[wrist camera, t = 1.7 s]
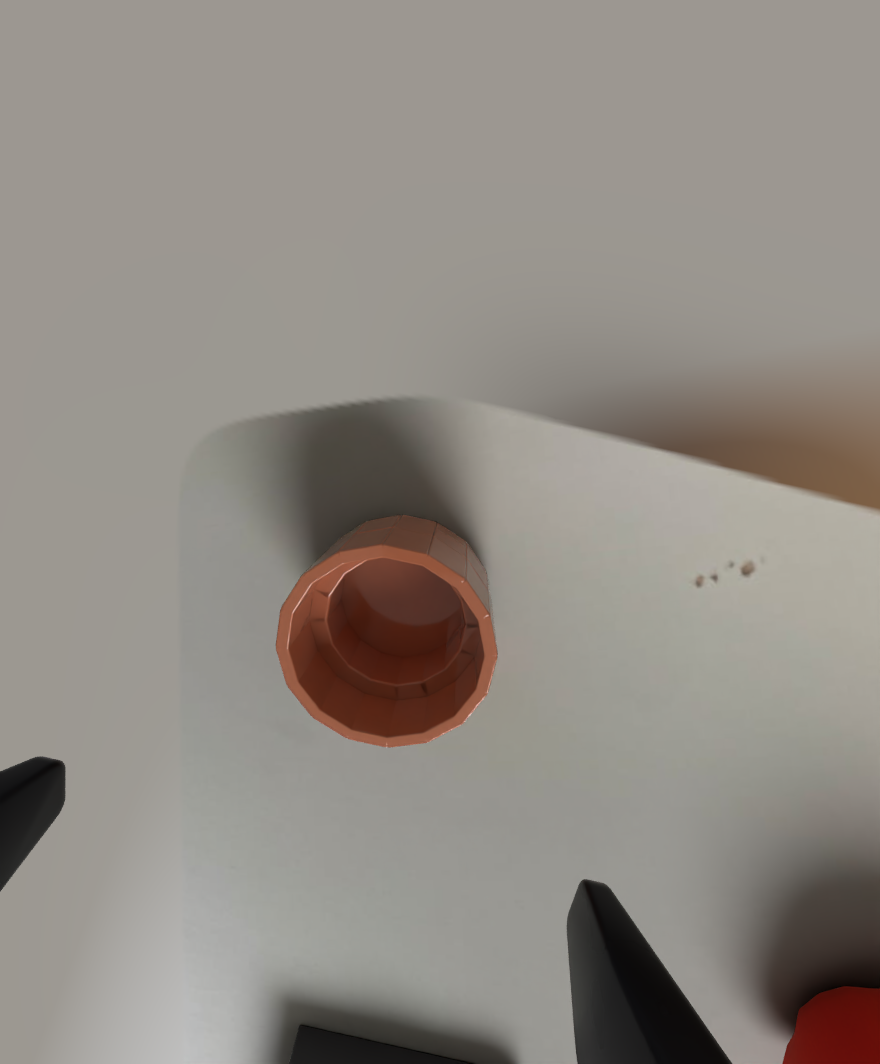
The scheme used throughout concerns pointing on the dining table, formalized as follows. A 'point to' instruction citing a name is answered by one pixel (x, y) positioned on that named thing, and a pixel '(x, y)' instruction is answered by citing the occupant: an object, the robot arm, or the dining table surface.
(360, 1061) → the scale
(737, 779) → the dining table surface
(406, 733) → the bowl
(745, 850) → the dining table surface
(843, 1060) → the tomato
